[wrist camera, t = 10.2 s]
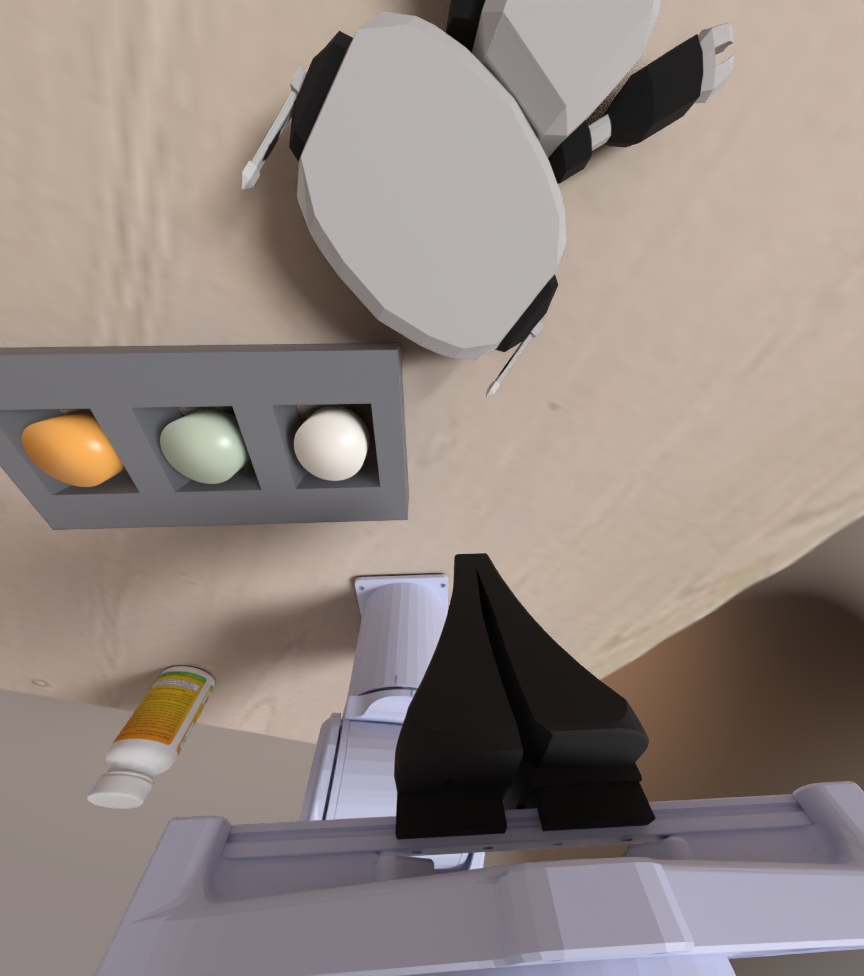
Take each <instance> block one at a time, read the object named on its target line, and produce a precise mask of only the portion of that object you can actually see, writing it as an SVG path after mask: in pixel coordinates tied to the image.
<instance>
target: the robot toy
mask: <svg viewBox="0 0 864 976" xmlns="http://www.w3.org/2000/svg"><path fill="white" fill-rule="evenodd" d="M660 5H661V0H451V5H450V11H449V17H448V23H447V30H446V33H447V34H446V33H445V32H444V31H442V30H441V29H439V28H438V27H437V26H435V25H433V24H431V23H429V22H427V21H425V20H423V19H421V18H419V17H417V16H412V15H405V14H398V13H391V12H384V11H382V12H381V13H380V14H378V15H377V16H376V17H374V18H373V19H372V20H370V21H369V22H367V23H366V24H365V25H363V26H362V27H361V28H359V29H358V30H357V32H356V34H355V36H354V38H352V37H350V36H348V35H346V34H344V33H342V32H340V31H339V32H338V33H337V34H336V35H335V36H334V38H333V39H332V40H331V41H330V42H329V43H328V44H327V46H326V47H325V48H324V49H323V50H322V51H321V52H320V53H319V54H318V55H316V56H315V57H314V58H313V60H312V62H311V65H310V67H309V69H308V72H307V73H306V72H305V71H304V70H303V69H302V68H301V67H299V69H298V70H297V72H296V74H295V75H294V77H293V79H292V81H291V82H290V85H291V90H292V92H291V94H290V96H289V98H288V99H287V101H286V103H285V105H284V106H283V108H282V110H281V111H280V113H279V115H278V117H277V118H276V120H275V122H274V124H273V125H272V127H271V129H270V130H269V132H268V134H267V136H266V137H265V139H264V141H263V143H262V144H261V146H260V148H259V149H258V151H257V153H256V155H255V156H254V158H253V160H252V162H251V161H250V160H249V162H248V163H247V165H246V167H245V169H244V170H243V172H242V190H244V189H248V188H252V187H254V185H255V183H256V181H257V180H258V178H259V176H260V173H259V172H260V170H261V168H262V167H263V165H264V163H265V161H266V160H267V158H268V156H269V155H270V153H271V151H272V149H273V148H274V146H275V144H276V143H277V141H278V139H279V137H280V136H281V134H282V132H283V131H284V129H285V127H286V125H287V124H288V122H289V120H290V119H291V117H292V123H291V135H290V145H289V147H290V149H291V150H292V152H293V154H294V155H295V157H296V158H297V160H298V161H299V163H298V183H297V200H298V203H299V205H300V208H301V211H302V213H303V216H304V219H305V221H306V224H307V227H308V229H309V232H310V234H311V236H312V237H313V239H314V241H315V243H316V244H317V246H318V248H319V249H320V251H321V252H322V254H323V255H324V257H325V258H326V259H327V261H328V262H329V263H330V265H331V266H332V268H333V269H334V270H335V272H336V273H337V275H338V276H339V277H340V278H341V279H342V281H343V282H344V283H345V284H346V285H347V286H348V287H349V288H350V289H351V291H352V292H353V293H354V294H355V295H356V296H357V297H358V298H359V300H360V301H361V302H362V303H363V304H364V305H365V306H366V307H367V308H368V310H369V311H370V312H371V313H372V314H373V315H374V316H375V317H376V318H377V320H379V321H380V322H382V323H384V324H385V325H387V326H389V327H390V328H392V329H394V330H395V331H397V332H398V333H400V334H402V335H403V336H405V337H407V338H408V339H410V340H412V341H413V342H415V343H417V344H418V345H420V346H422V347H424V348H426V349H429V350H431V351H433V352H436V353H438V354H440V355H443V356H446V357H450V358H453V359H473V360H477V359H478V358H480V357H482V356H484V355H486V354H487V353H489V352H491V351H493V350H498V351H502V352H506V351H507V350H509V349H511V348H512V347H514V346H516V345H517V344H519V343H520V342H521V344H520V345H519V347H518V348H517V350H516V351H515V352H514V354H513V355H512V357H511V358H510V360H509V361H508V362H507V364H506V365H505V367H504V368H503V370H502V371H501V372H500V374H499V375H498V377H497V378H496V380H495V381H493V382H492V383H491V385H490V386H489V388H488V389H487V394H486V398H487V397H489V396H490V395H492V394H494V393H495V391H496V390H497V389H498V387H499V386H500V382H501V381H502V379H503V378H504V377H505V375H506V374H507V372H508V371H509V369H510V368H511V367H512V365H513V364H514V362H515V361H516V359H517V358H518V357H519V355H520V354H521V352H522V351H523V349H524V348H525V347H526V345H527V344H528V342H529V341H530V339H531V338H533V337H536V335H537V334H538V333H539V331H540V330H541V328H542V327H543V326H544V325H543V324H542V323H541V322H540V320H541V319H542V318H543V316H544V315H545V314H546V312H547V310H548V307H549V305H550V303H551V300H552V298H553V296H554V294H555V291H556V289H557V287H558V283H557V280H556V277H555V272H556V270H557V267H558V265H559V262H560V259H561V257H562V254H563V251H564V249H565V246H566V244H567V236H566V219H565V208H564V204H563V200H562V196H561V192H560V189H559V187H558V184H559V183H561V182H563V181H564V180H566V179H568V178H569V177H571V176H573V175H574V174H576V173H577V172H579V171H581V170H582V169H584V168H585V166H586V164H587V163H588V161H589V159H590V158H591V154H592V151H593V150H595V149H596V148H598V147H599V146H601V145H603V144H604V145H608V146H616V147H628V146H631V145H634V144H638V143H640V142H642V141H643V140H645V139H646V138H648V137H650V136H651V135H653V134H655V133H656V132H658V131H660V130H661V129H663V128H665V127H666V126H668V125H669V124H671V123H673V122H674V121H676V120H678V119H679V118H681V117H683V116H684V114H685V113H686V112H687V111H688V110H689V109H690V107H691V106H692V105H693V104H694V103H705V102H706V101H707V100H708V99H709V98H711V97H712V96H713V95H714V94H715V93H716V92H717V91H718V90H719V89H720V88H721V87H722V86H723V85H724V83H725V82H726V80H727V79H728V77H729V76H730V74H731V71H732V67H733V55H732V56H731V57H730V58H729V59H728V60H726V61H724V62H723V63H722V64H721V65H719V66H718V67H716V68H715V54H718V53H721V52H723V51H724V50H725V48H726V47H727V46H728V45H730V44H732V43H733V29H732V27H731V25H730V23H726V24H721V25H717V26H714V27H711V28H708V29H705V30H702V31H701V32H700V34H699V35H695V36H693V37H691V38H690V39H688V40H686V41H685V42H683V43H681V44H680V45H678V46H676V47H675V48H673V49H672V50H670V51H669V52H667V53H665V54H664V55H662V56H661V57H659V58H658V59H656V60H655V61H653V62H651V63H650V64H648V65H647V66H645V67H644V68H642V69H640V70H639V71H637V72H636V73H634V74H633V75H631V76H630V78H629V79H628V81H627V82H626V83H625V85H624V86H623V88H622V89H621V90H620V92H619V93H618V95H617V96H616V97H615V99H614V100H613V102H612V103H611V105H610V106H609V108H608V109H607V111H606V112H605V114H604V115H603V117H601V118H600V119H598V120H597V121H595V122H594V123H592V124H590V125H589V126H588V123H587V121H586V120H587V119H588V117H589V116H590V115H591V114H592V113H593V112H594V111H595V109H596V108H597V107H598V106H599V105H600V104H601V103H602V102H603V100H604V99H605V98H606V97H607V96H608V95H609V94H610V92H611V91H612V90H613V89H614V88H615V86H616V85H617V84H618V83H619V82H620V80H621V79H622V78H623V77H624V76H625V74H626V73H627V72H628V71H629V70H630V69H631V67H632V66H633V65H634V64H635V63H636V61H637V60H638V59H639V58H640V57H641V55H642V54H643V51H644V49H645V47H646V44H647V42H648V40H649V37H650V35H651V33H652V30H653V28H654V26H655V23H656V21H657V19H658V17H659V11H660Z"/></svg>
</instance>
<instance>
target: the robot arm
mask: <svg viewBox="0 0 864 976" xmlns="http://www.w3.org/2000/svg"><path fill="white" fill-rule="evenodd" d="M442 583H443V584H442ZM360 586H362V587H360ZM355 589H356V594H357V599H358V604H359V609H360V614H361V619H362V620H361V625H360V631H359V636H358V642H357V647H356V653H355V658H354V664H353V669H352V675H351V680H350V686H349V691H348V697H347V701H346V705H345V708H344V712H343V716H342V719H341V713H332V714H331V716H330V718H328V719H327V720H326V721H325V722H324V723H323V724H322V725H321V729H320V733H319V737H318V742H317V746H316V750H315V754H314V759H313V763H312V767H311V772H310V776H309V780H308V785H307V789H306V794H305V798H304V802H303V807H302V812H301V816H300V820H299V821H296V822H278V823H260V824H241V825H231V823H230V822H229V820H228V819H226V818H224V817H220V816H196V817H176V818H172V819H171V820H170V821H168V824H167V826H166V828H165V830H164V832H163V834H162V836H161V838H160V840H159V842H158V844H157V846H156V848H155V850H154V853H153V855H152V857H151V859H150V861H149V863H148V865H147V867H146V869H145V871H144V873H143V875H142V877H141V879H140V881H139V883H138V886H137V888H136V890H135V892H134V894H133V896H132V898H131V900H130V902H129V904H128V906H127V908H126V911H125V913H124V915H123V917H122V919H121V921H120V923H119V925H118V927H117V929H116V931H115V933H114V935H113V937H112V939H111V941H110V944H109V946H108V948H107V950H106V952H105V954H104V956H103V958H102V960H101V962H100V964H99V967H98V968H97V971H96V973H95V975H94V976H736V975H735V973H734V971H733V969H732V967H731V965H730V962H729V960H728V959H732V958H746V957H758V956H772V955H785V954H798V953H811V952H825V951H839V950H852V949H864V792H863V791H862V790H861V789H860V787H859V786H858V785H857V784H856V783H854V782H851V781H847V782H827V783H814V784H809V785H805V786H803V787H801V788H799V789H797V790H796V791H794V792H793V794H791V795H774V796H773V795H772V796H754V797H735V798H717V799H700V800H682V801H663V802H648V800H647V798H646V796H645V794H644V792H643V789H642V788H641V785H640V783H639V781H641V780H642V778H641V774H640V772H639V770H638V768H637V766H636V764H635V762H636V761H637V759H638V758H639V757H640V756H641V755H642V754H643V753H644V751H645V750H646V748H647V747H648V744H649V739H648V736H647V734H646V732H645V730H644V728H643V727H642V725H641V723H640V721H639V719H638V718H637V717H636V715H635V713H634V711H633V710H632V708H631V707H630V705H629V704H628V702H627V701H626V700H625V699H624V698H623V697H621V696H620V695H619V694H617V693H616V692H615V691H613V690H612V689H611V688H609V687H608V686H607V685H605V684H604V683H602V682H601V681H600V680H599V679H597V678H596V677H595V676H594V675H593V674H591V673H590V672H589V671H588V670H586V669H585V668H584V667H583V666H582V665H580V664H579V663H578V662H577V661H576V660H575V659H574V658H573V657H572V656H570V655H569V654H568V653H567V652H566V651H565V650H564V649H563V648H562V647H561V646H559V645H558V644H557V643H556V642H555V641H554V640H553V639H552V638H551V637H550V636H549V635H548V634H547V633H546V632H545V631H544V630H543V628H542V627H541V626H540V625H539V624H538V623H537V622H536V621H535V620H534V619H533V618H532V616H531V615H530V614H529V613H528V612H527V610H526V609H525V608H524V607H523V606H522V604H521V603H520V602H519V601H518V599H517V598H516V597H515V595H514V594H513V593H512V591H511V590H510V589H509V587H508V586H507V584H506V583H505V582H504V580H503V579H502V577H501V576H500V574H499V573H498V571H497V570H496V568H495V566H494V565H493V563H492V561H491V560H490V558H489V556H488V555H487V554H486V553H482V554H457V555H456V556H455V559H454V583H453V592H452V597H451V601H450V605H449V609H448V577H447V575H444V574H437V575H407V576H377V577H358V578H356V579H355ZM447 612H448V613H447ZM503 802H504V804H503ZM632 843H641V844H636V845H631V846H628V849H627V852H626V853H625V854H623V855H622V856H621V857H620V858H599V859H598V858H597V859H570V860H552V861H540V862H529V863H519V864H511V865H502V866H493V867H486V868H483V863H484V856H485V852H494V851H511V850H528V849H544V848H545V849H546V848H563V847H580V846H597V845H614V844H632Z"/></svg>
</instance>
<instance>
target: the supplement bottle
mask: <svg viewBox="0 0 864 976" xmlns="http://www.w3.org/2000/svg"><path fill="white" fill-rule="evenodd" d="M214 686H215V680H214V678H213V677H212V676H211V675H210V674H208V673H207V672H205V671H203V670H200V669H197V668H194V667H189V666H175V667H171V668H168V669H166V670H164V671H163V672H162V673H161V675H160V676H159V677H158V679H157V680H156V682H155V683H154V685H153V686H152V687H151V689H150V690H149V692H148V693H147V695H146V696H145V698H144V699H143V701H142V702H141V703H140V705H139V706H138V708H137V709H136V710H135V712H134V713H133V715H132V717H131V718H130V719H129V721H128V722H127V724H126V725H125V727H124V728H123V729H122V731H121V732H120V734H119V735H118V736H117V738H116V739H115V741H114V742H113V744H112V746H111V747H110V748H109V750H108V752H107V754H106V757H105V761H106V764H107V766H108V767H109V770H108V771H107V772H106V773H104V774H102V775H101V777H100V778H99V779H98V781H97V782H96V784H95V785H94V787H93V788H92V790H91V792H90V793H89V795H88V796H87V800H88V801H89V802H91V803H93V804H96V805H99V806H103V807H110V808H118V809H126V808H135V807H138V806H140V805H142V803H143V802H144V800H145V798H146V796H147V795H148V793H149V791H150V790H151V788H152V785H153V783H154V781H153V778H154V776H155V775H158V774H161V773H163V772H165V771H166V770H167V769H169V768H170V767H171V766H172V764H173V763H174V762H175V760H176V758H177V757H178V755H179V753H180V751H181V749H182V747H183V745H184V743H185V741H186V739H187V738H188V736H189V734H190V732H191V730H192V728H193V726H194V724H195V723H196V721H197V719H198V717H199V715H200V713H201V711H202V709H203V708H204V706H205V704H206V702H207V700H208V698H209V696H210V694H211V692H212V690H213V688H214Z"/></svg>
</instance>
